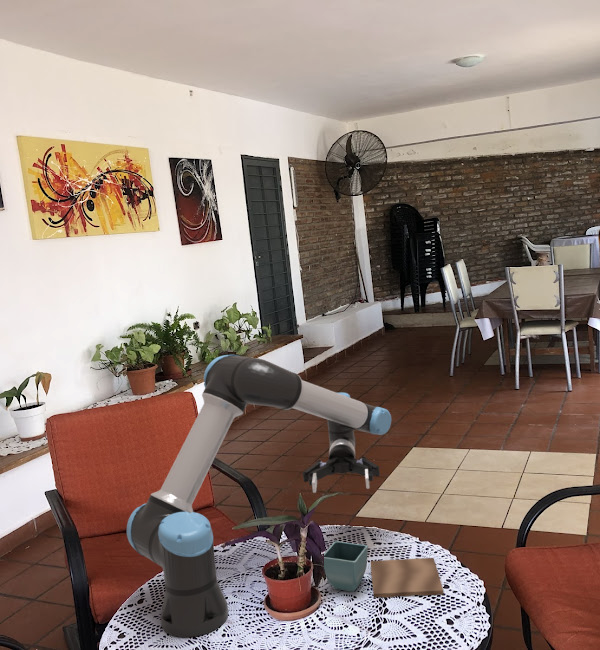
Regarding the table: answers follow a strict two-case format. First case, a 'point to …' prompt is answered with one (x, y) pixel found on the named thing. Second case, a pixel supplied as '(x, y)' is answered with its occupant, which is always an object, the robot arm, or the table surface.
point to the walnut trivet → (405, 577)
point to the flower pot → (345, 565)
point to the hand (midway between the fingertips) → (340, 485)
